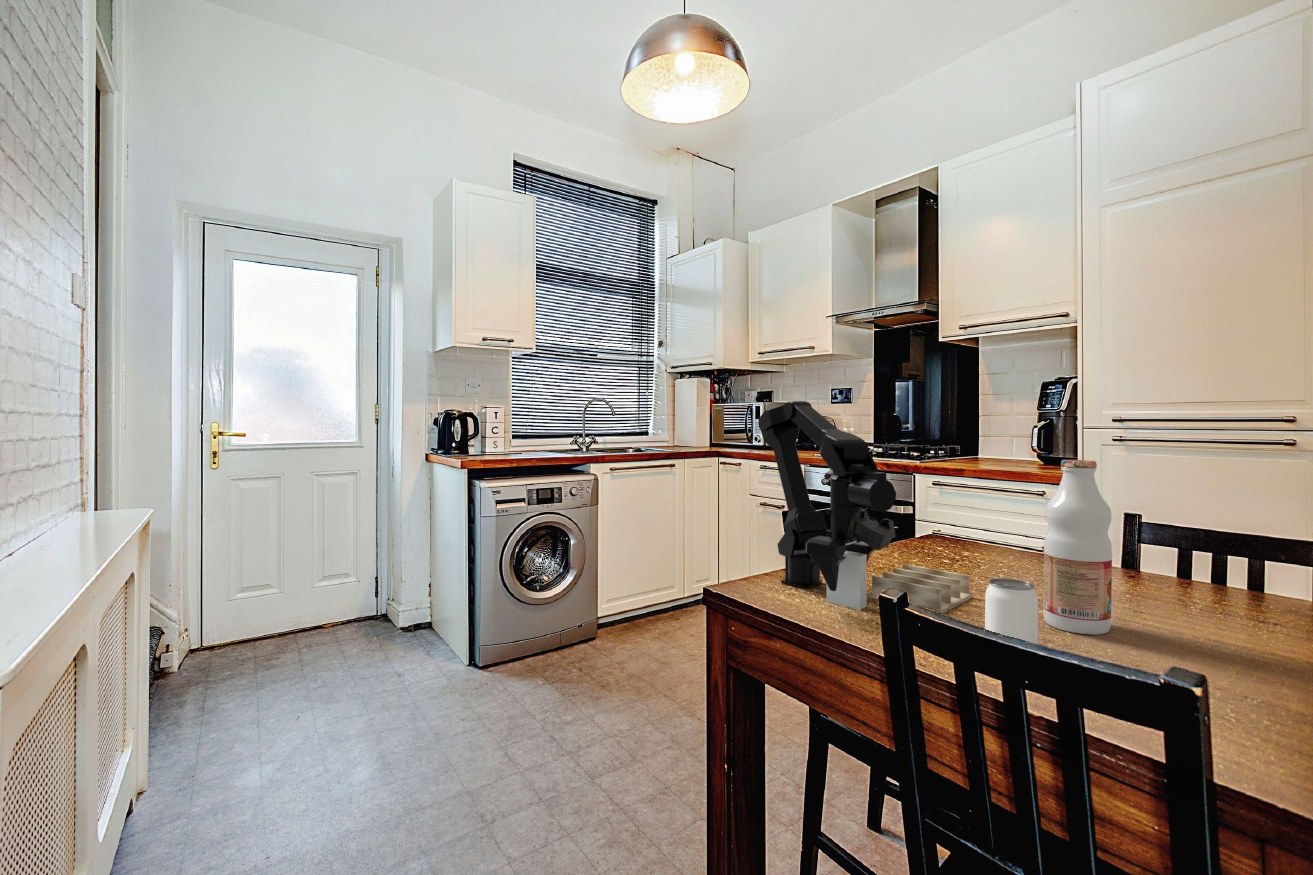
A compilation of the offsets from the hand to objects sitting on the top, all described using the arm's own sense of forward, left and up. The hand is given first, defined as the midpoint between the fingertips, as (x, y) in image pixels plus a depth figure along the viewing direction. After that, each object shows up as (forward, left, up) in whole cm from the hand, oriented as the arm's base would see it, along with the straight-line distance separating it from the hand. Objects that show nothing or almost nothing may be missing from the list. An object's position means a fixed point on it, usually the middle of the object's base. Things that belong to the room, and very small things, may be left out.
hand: (846, 585), depth 114 cm
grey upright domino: (0, 0, -4) cm, 4 cm away
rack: (+8, +14, -4) cm, 16 cm away
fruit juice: (+33, +17, -4) cm, 37 cm away
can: (+31, -9, -4) cm, 32 cm away
